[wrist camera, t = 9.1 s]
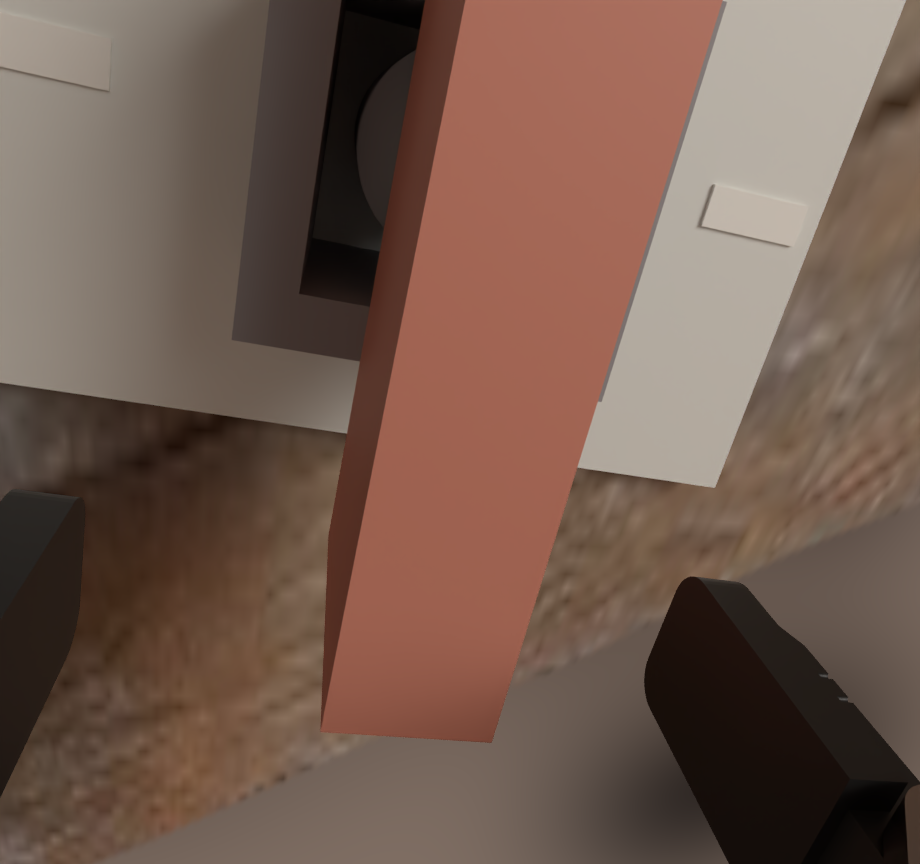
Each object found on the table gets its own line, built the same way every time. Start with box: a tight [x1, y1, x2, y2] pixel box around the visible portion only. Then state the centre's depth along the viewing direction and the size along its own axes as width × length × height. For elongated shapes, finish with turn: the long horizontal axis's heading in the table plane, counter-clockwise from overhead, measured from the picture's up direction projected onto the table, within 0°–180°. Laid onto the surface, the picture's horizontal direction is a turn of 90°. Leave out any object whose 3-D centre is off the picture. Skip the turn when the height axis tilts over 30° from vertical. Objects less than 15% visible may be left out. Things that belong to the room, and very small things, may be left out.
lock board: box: [0, 0, 906, 488], centre depth 15 cm, size 20×15×6 cm
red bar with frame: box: [232, 0, 727, 743], centre depth 13 cm, size 14×7×10 cm, turn 167°
